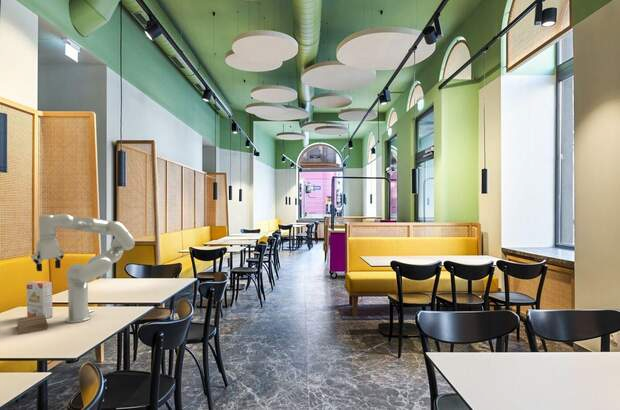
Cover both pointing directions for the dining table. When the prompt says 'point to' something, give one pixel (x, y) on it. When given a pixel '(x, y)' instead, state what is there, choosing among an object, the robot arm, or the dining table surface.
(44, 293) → the cracker box
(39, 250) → the robot arm
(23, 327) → the walnut block
